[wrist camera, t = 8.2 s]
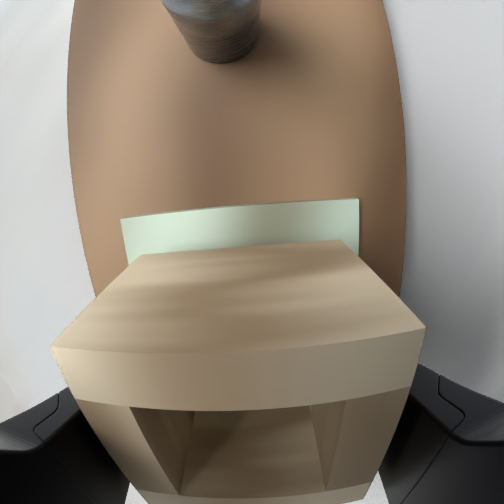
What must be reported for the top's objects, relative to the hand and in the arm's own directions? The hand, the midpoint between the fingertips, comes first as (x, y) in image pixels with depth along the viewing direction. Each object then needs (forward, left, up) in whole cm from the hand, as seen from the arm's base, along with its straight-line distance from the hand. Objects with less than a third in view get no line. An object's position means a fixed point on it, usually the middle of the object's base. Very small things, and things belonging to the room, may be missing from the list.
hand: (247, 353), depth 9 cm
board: (0, -5, -4) cm, 6 cm away
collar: (0, 0, -1) cm, 1 cm away
